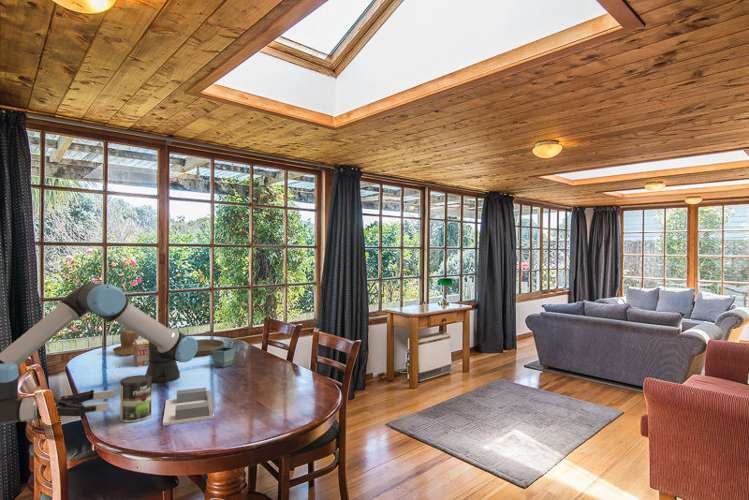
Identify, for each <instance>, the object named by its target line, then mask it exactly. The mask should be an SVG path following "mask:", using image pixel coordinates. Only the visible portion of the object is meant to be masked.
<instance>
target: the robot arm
mask: <svg viewBox="0 0 749 500" xmlns="http://www.w3.org/2000/svg"><path fill="white" fill-rule="evenodd" d="M89 313H90V314H92V315H96V316H97V317H99V318H101V319H102V320H104V321H106V322H107V323H108V322H109V323H111V322H116V323H117V324H120V325H121V326H123V327H124V328H127V329H129V330H131V331H132V332H134V333H136V334H138V335H139V336H140V337H141V338H142V339H146V340H148V341H149V365H148V366H147V368H146V372H145V374H144V375H148V376H151V377H152V384H164V383H170V382H173V381H176V380H179V379H180V377H181V373H180V370H179V366H178V363H188V362H190V361H191V360H193V359H194V358H195V357H194V356H195V355H196V353H197V349H198V347H197V345H198V343H197V341H196V340H197V339H196V338H195V337H193V336H190V335H186V334H184V332H181V331H180V330H178V329H176V328H171V329H170V328H169V327H166V325H163V324H162V323H161V322H159V321H158V320H156V319H154V318H153V317H151V315H148V314H147V313H146V312H144V311H142V310H140V308H138V307H136V306H134V305H133V304H132V303H130V298H129V297H128V296H127V295H125V293H124V291H123V290H122V289H120V288H119V287H117V286H115V285H113V284H109V283H108V284H106V283H105V284H104V283H103V284H101V283H93V282H91V283H85V284H82V285H81V286H78V287H77V288H75V289H74V290H72V291H71V292H70V293H68V294H67V295H66V296H65V297H64V298H62V299H60V301H58V302H57V307H55V308H54V309H53V310H52V311H50V312H49V313H48V314H47V315H46V316H44V317H43V318H42V319H41V320H40V321H38V322H36V324H34V325H33V326H32V327H31V328H30V329H28V330H27V331H26V332H24V333H23V334H21V336H20V337H17V339H16V340H14V341H13V342H12V343H11V344H10V345H9V346H7V347H6V348H5V349H3V350H2V351H1V352H0V425H5V424H12V423H20V422H21V423H22V422H27V423H30V422H31V421H37V420H42V419H41V416H40V414H39V410H38V407H37V404H36V401H35V399H34V398H31V397H25V398H24V397H23V398H19V374H20V373H19V367H20V366H21V364H24V362H25V361H27V360H28V358H30V357H31V356H32V355H34V354H35V353H36V352H37V351H38V350H39V349H41V348H42V347H43V346H44V345H46V344H47V343H48V342H49V341H50V340H51V339H52V338H53V337H55V336H56V335H57V334H59V333H60V332H61V331H62V330H63V329H64V328H65V327H67V326H68V325H69V324H70V323H71V322H73V320H76V321H77V320H79V319H80V318H82V317H83V316H84V315H86V314H89ZM177 362H178V363H177ZM113 398H115V390H114V389H112V390H111V389H110V390H101V391H95V389H91V390H89V391H88V390H87V391H82V392H79V393H74V394H70V395H62V396H61V397H60V399H56V397H55V396H54V400H55V403H56V407H57V411H58V415H59V416H58V415H57V416H56V417H81V418H82V417H85V414H90V413H99V412H107V411H108V409H109V406H108V405H109V402H108V401H105V402H97V403H86V404H85V405H81V404H82V403H85V402H88V401H91V400H93V401H98V400H99V401H100V400H107V399H113Z"/></svg>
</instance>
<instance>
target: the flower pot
mask: <svg viewBox="0 0 749 500" xmlns="http://www.w3.org/2000/svg"><path fill="white" fill-rule="evenodd" d="M211 351H212V355H211V356H212V361H213V363H214V365H215V366H216V367H217V368H218V367H219V368H225V367H228V366H231V364H232V363H233V361H234V359H235V354H236V353H235V352H236V348H235V347H227V346H224V347H221V348H217V349H214V350H211Z"/></svg>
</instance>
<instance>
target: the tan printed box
mask: <svg viewBox="0 0 749 500" xmlns="http://www.w3.org/2000/svg"><path fill="white" fill-rule="evenodd" d="M132 356H133V357H132V358H134V359H133V360H134V361H133V362H134V364H135V365H137V366H136V368H139V367H138V366H142V367H148V365H149V341H148V340H146V339H144V338H138V339H137V340H135V342H133V354H132Z"/></svg>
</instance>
